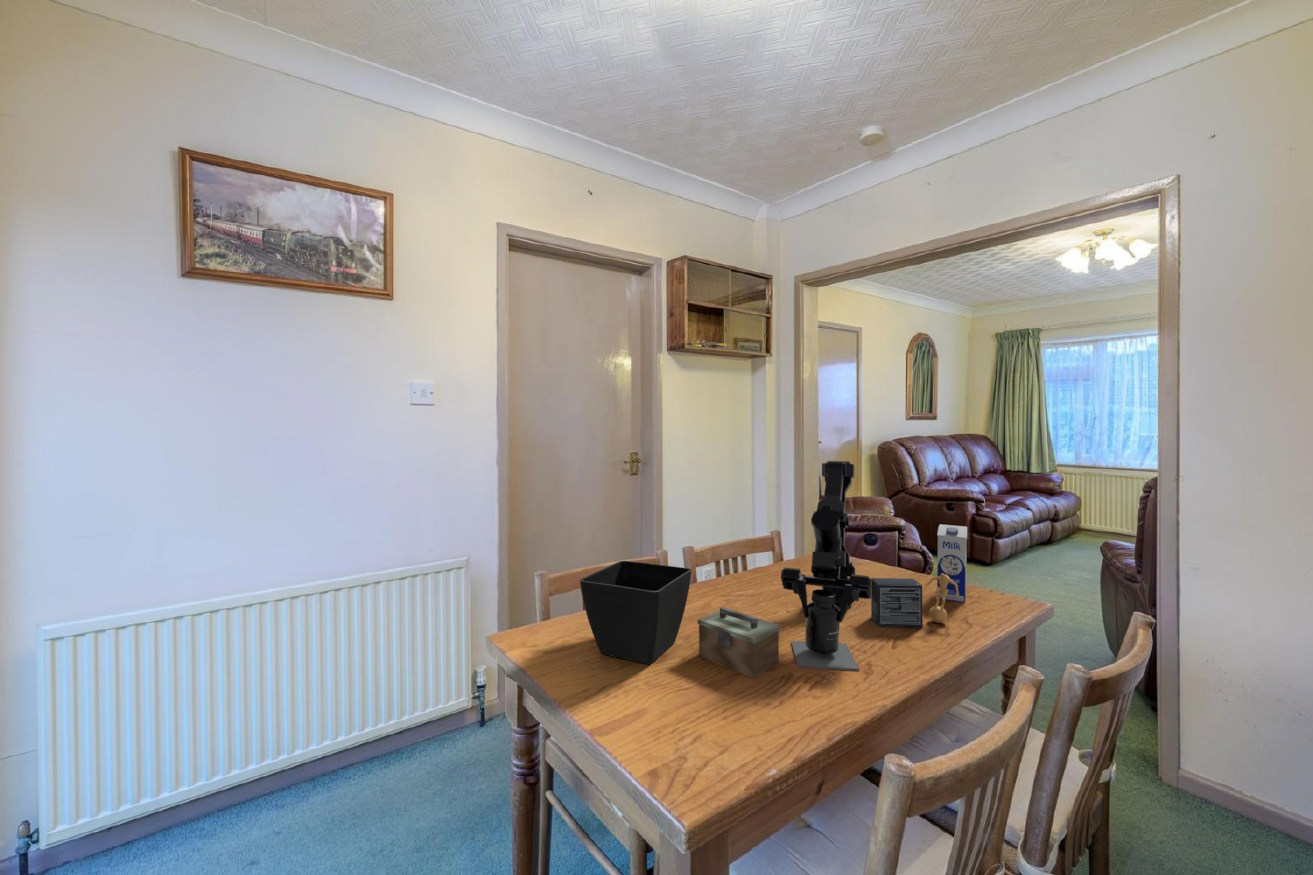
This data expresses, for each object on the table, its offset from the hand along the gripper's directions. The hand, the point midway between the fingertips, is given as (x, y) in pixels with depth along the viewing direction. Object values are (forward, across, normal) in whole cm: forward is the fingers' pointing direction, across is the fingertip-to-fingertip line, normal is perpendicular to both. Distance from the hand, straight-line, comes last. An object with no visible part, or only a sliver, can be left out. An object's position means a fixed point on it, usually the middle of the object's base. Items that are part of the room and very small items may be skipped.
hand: (822, 619), depth 112 cm
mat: (+5, 0, +7) cm, 8 cm away
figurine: (-16, +25, +29) cm, 41 cm away
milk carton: (-31, +30, +44) cm, 61 cm away
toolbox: (+11, -16, 0) cm, 20 cm away
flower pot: (+13, -38, -1) cm, 41 cm away
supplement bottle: (+4, 0, +6) cm, 7 cm away
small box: (-13, +15, +25) cm, 32 cm away
